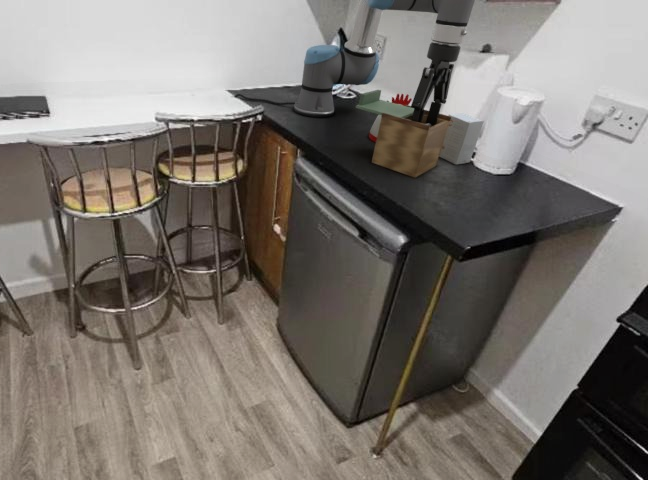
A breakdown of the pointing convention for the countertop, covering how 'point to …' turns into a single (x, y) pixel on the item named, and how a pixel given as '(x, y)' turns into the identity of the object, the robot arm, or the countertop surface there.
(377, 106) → the lid
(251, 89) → the countertop surface
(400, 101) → the white toy chicken
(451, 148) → the small box
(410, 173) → the case
